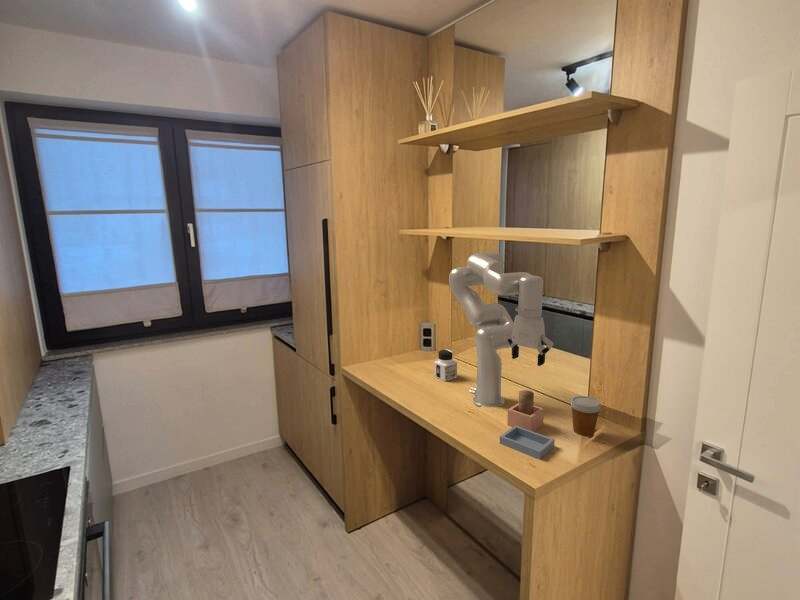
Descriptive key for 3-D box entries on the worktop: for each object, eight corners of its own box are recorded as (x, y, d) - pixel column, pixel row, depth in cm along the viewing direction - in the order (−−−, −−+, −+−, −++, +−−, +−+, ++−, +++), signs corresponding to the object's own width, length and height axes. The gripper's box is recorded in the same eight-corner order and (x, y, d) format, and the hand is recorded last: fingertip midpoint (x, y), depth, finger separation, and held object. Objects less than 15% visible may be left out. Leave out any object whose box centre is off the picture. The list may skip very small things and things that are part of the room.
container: (445, 381, 196) (445, 354, 193) (434, 376, 202) (433, 350, 199) (457, 377, 200) (457, 351, 198) (446, 373, 206) (446, 347, 204)
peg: (515, 425, 152) (516, 393, 150) (522, 420, 156) (523, 389, 154) (528, 429, 149) (529, 397, 147) (535, 424, 152) (536, 392, 150)
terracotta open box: (507, 427, 153) (507, 409, 151) (520, 418, 159) (520, 401, 157) (530, 436, 146) (531, 417, 145) (543, 426, 153) (543, 408, 151)
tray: (499, 446, 141) (499, 436, 140) (515, 434, 148) (515, 425, 147) (539, 462, 131) (539, 452, 130) (554, 449, 138) (554, 439, 137)
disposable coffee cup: (588, 444, 141) (591, 410, 138) (563, 432, 148) (564, 400, 146) (604, 435, 146) (606, 402, 144) (578, 424, 154) (580, 393, 151)
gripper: (501, 310, 147) (499, 358, 150) (548, 319, 135) (545, 370, 138) (513, 307, 152) (511, 353, 155) (559, 314, 140) (556, 364, 143)
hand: (527, 361), depth 147 cm, fingers open, 9 cm apart
